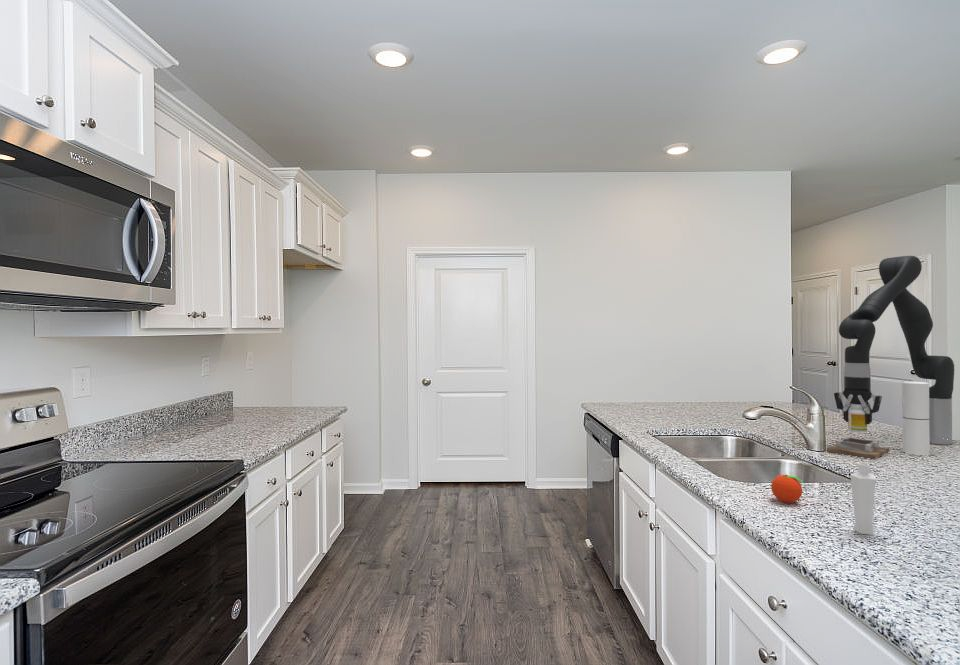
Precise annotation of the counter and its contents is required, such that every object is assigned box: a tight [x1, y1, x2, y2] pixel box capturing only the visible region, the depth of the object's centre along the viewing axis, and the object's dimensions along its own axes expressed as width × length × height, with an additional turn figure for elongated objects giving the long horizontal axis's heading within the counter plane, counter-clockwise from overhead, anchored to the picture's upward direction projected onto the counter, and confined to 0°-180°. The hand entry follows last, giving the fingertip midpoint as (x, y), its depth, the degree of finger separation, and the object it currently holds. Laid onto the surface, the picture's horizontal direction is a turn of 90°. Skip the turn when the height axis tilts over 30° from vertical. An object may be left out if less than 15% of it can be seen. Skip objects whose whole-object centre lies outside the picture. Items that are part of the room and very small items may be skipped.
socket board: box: [826, 436, 890, 460], centre depth 179 cm, size 15×14×4 cm
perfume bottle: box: [850, 462, 877, 536], centre depth 111 cm, size 5×4×15 cm
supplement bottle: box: [847, 404, 868, 433], centre depth 178 cm, size 5×5×10 cm
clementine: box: [770, 474, 808, 504], centre depth 130 cm, size 8×7×7 cm
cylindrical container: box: [901, 381, 931, 456], centre depth 176 cm, size 7×7×25 cm
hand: (857, 422), depth 179 cm, fingers closed on supplement bottle, 5 cm apart
